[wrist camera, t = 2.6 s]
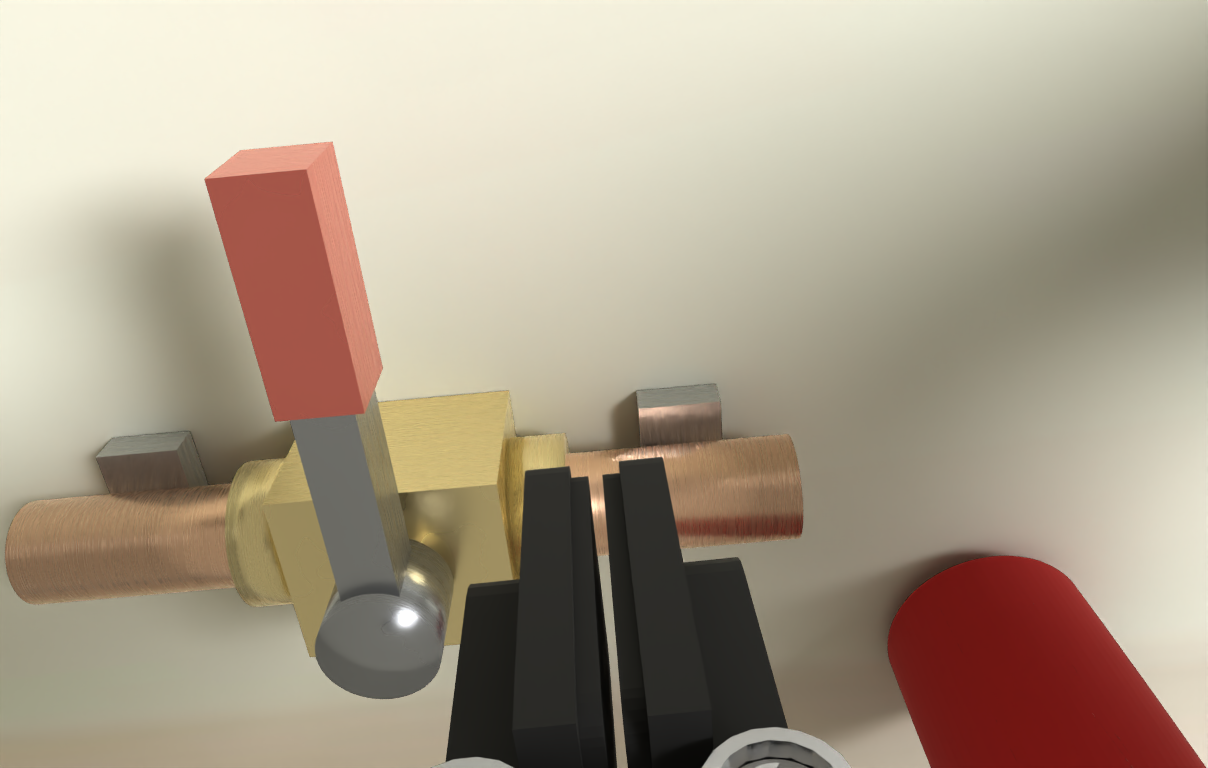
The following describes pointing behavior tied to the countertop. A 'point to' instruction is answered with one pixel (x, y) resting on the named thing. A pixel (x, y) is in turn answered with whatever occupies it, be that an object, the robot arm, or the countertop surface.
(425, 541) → the pipework
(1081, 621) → the beverage can
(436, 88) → the countertop surface
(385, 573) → the lever
